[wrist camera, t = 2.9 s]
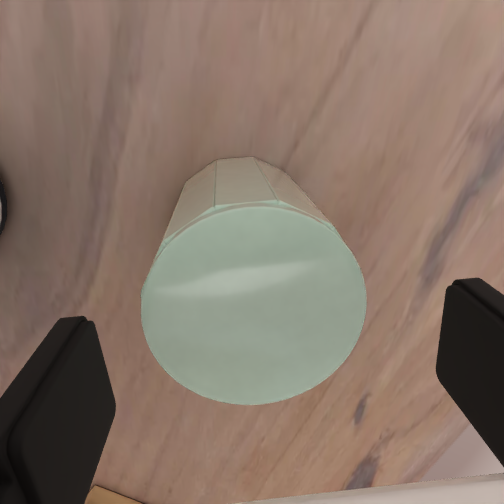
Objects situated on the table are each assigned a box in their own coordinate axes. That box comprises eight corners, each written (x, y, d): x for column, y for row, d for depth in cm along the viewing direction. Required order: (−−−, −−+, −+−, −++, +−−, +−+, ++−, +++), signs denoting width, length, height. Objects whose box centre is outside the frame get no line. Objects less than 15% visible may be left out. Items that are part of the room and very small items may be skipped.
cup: (146, 209, 20) (90, 296, 11) (258, 129, 19) (291, 155, 10) (225, 304, 23) (229, 437, 14) (328, 238, 21) (404, 335, 13)
